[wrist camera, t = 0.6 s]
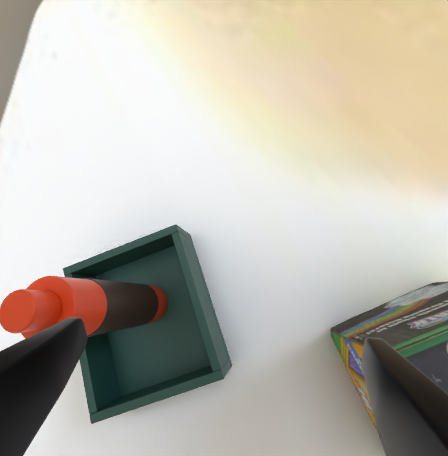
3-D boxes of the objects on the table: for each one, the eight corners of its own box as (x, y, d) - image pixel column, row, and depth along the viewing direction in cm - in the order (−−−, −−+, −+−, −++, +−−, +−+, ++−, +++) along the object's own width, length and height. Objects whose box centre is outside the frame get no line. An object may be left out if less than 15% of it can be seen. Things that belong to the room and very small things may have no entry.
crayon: (172, 317, 23) (55, 340, 11) (137, 327, 24) (-16, 362, 11) (164, 280, 24) (46, 262, 12) (130, 291, 24) (-19, 284, 12)
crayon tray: (232, 365, 22) (224, 378, 19) (119, 404, 23) (90, 424, 19) (190, 234, 25) (176, 224, 22) (92, 272, 26) (62, 268, 23)
